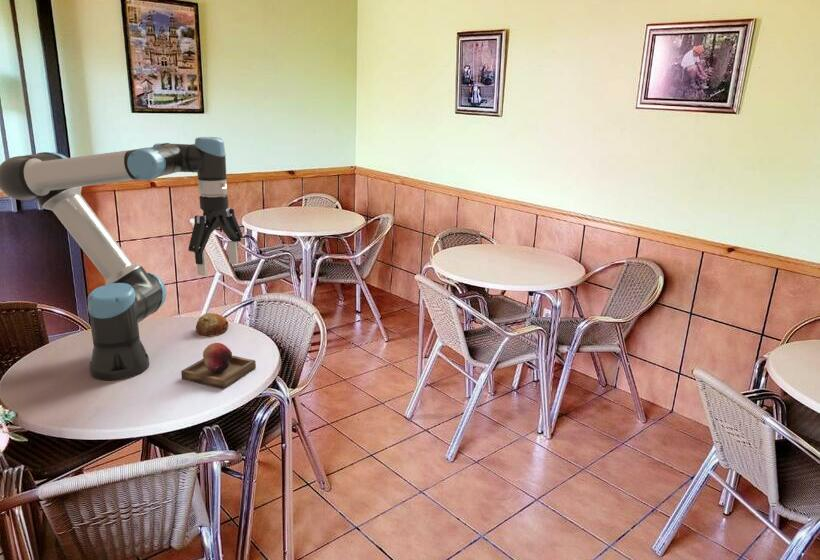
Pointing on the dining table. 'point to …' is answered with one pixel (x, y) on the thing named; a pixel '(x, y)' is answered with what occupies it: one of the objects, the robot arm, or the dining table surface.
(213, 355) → the fruit
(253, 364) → the walnut tray
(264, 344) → the dining table surface
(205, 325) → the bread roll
